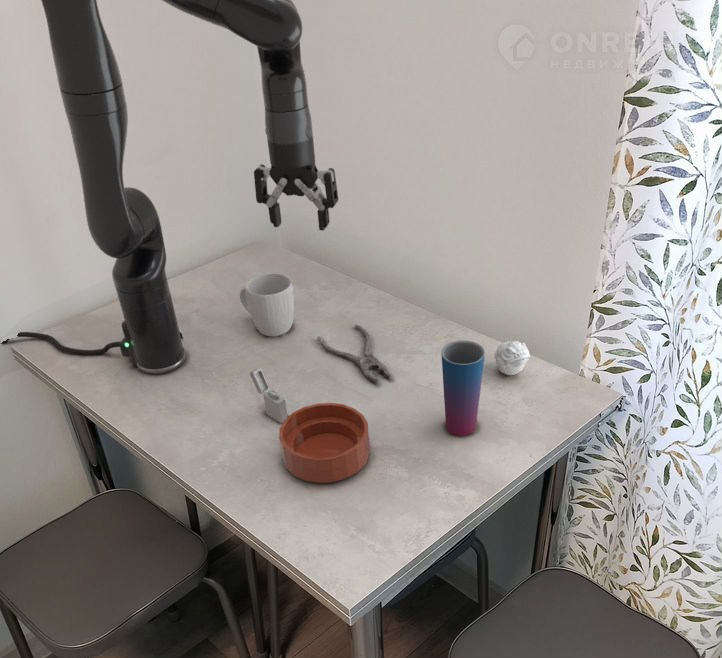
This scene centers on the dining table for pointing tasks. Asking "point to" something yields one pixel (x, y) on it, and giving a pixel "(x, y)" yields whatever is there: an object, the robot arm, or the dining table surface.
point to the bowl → (324, 442)
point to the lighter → (270, 397)
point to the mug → (269, 303)
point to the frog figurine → (511, 357)
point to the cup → (462, 385)
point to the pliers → (363, 363)
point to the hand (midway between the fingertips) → (300, 226)
